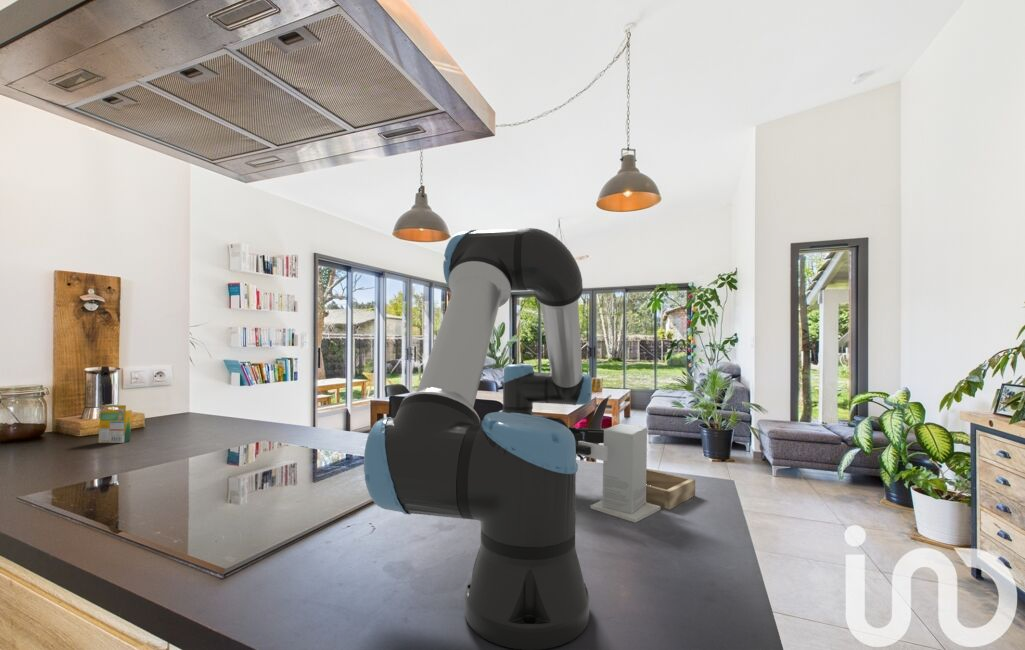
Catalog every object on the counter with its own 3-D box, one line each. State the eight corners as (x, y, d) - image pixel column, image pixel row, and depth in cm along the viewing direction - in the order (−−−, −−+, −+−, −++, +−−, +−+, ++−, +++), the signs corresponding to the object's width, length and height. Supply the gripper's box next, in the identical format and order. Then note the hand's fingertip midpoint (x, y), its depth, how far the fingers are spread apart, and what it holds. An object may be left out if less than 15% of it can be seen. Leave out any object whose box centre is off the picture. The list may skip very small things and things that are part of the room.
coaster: (635, 522, 84) (635, 519, 84) (590, 508, 91) (590, 505, 91) (660, 509, 91) (660, 506, 91) (617, 497, 98) (617, 494, 98)
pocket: (669, 509, 91) (669, 491, 91) (615, 494, 100) (615, 478, 100) (695, 495, 100) (695, 479, 100) (643, 482, 109) (643, 468, 109)
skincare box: (618, 496, 96) (619, 422, 97) (649, 503, 93) (649, 426, 93) (601, 507, 90) (601, 428, 91) (633, 515, 86) (633, 432, 87)
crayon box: (130, 441, 143) (132, 404, 144) (123, 443, 141) (125, 405, 141) (105, 441, 143) (107, 404, 143) (97, 443, 140) (100, 405, 140)
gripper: (578, 441, 116) (655, 457, 101) (508, 457, 98) (588, 479, 83) (578, 411, 116) (655, 423, 101) (508, 422, 99) (589, 437, 84)
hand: (625, 448), depth 92 cm, fingers open, 13 cm apart
